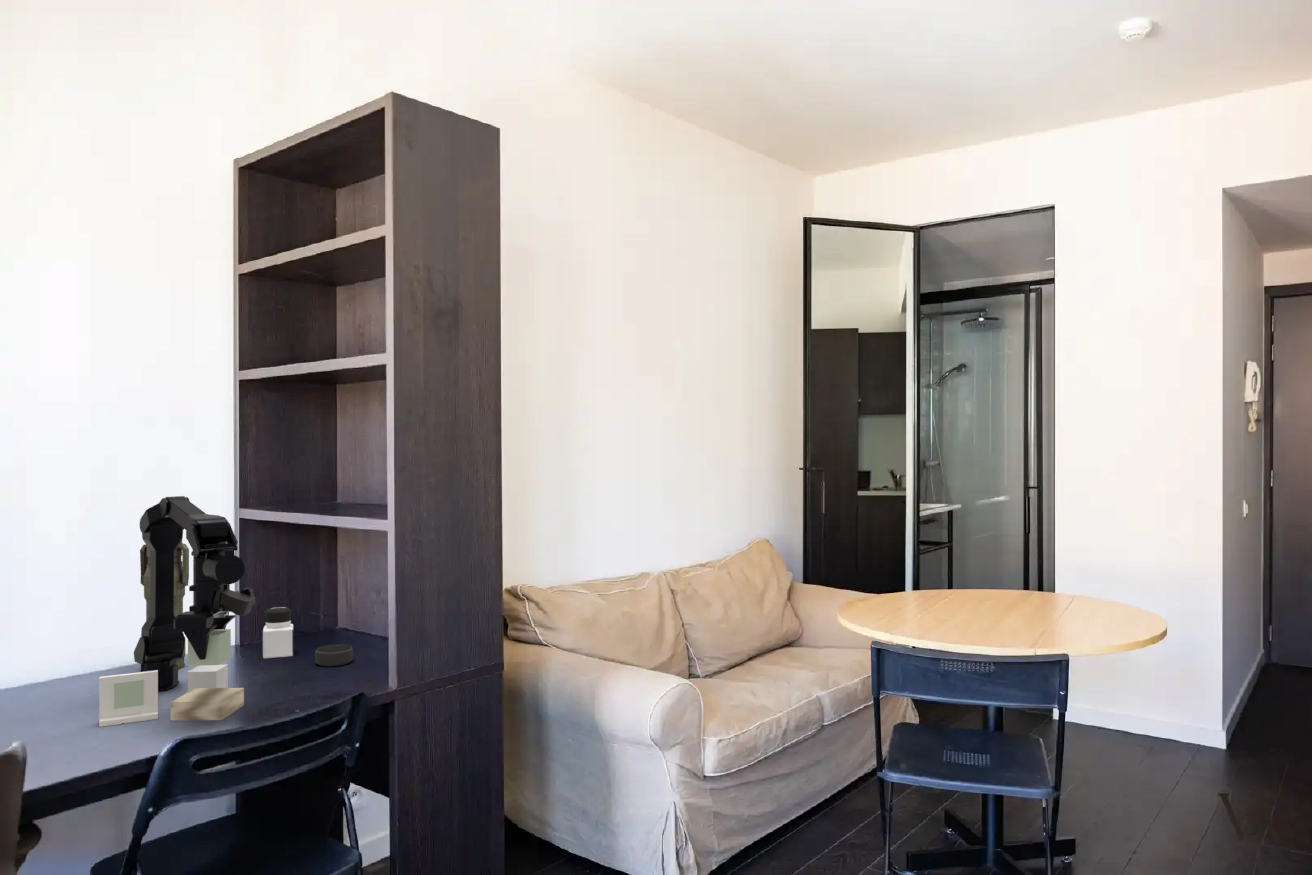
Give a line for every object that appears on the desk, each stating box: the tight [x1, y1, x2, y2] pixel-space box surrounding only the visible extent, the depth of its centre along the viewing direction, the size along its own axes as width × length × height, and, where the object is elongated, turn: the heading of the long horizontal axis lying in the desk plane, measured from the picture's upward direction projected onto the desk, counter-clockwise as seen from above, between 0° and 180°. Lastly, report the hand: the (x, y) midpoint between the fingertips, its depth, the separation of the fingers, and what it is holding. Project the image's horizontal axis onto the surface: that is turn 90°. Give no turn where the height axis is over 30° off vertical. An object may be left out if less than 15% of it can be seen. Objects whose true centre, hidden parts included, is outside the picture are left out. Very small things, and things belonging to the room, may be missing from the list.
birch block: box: [170, 687, 245, 722], centre depth 182 cm, size 10×10×4 cm
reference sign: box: [98, 670, 159, 728], centre depth 178 cm, size 10×5×9 cm, turn 120°
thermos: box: [139, 539, 190, 670], centre depth 219 cm, size 9×12×35 cm
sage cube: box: [187, 628, 232, 667], centre depth 183 cm, size 6×6×6 cm
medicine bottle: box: [262, 606, 294, 659], centre depth 232 cm, size 7×7×12 cm
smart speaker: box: [314, 643, 354, 667], centre depth 223 cm, size 9×9×4 cm
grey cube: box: [187, 663, 229, 693], centre depth 195 cm, size 6×6×6 cm
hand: (209, 655), depth 183 cm, fingers closed on sage cube, 6 cm apart
